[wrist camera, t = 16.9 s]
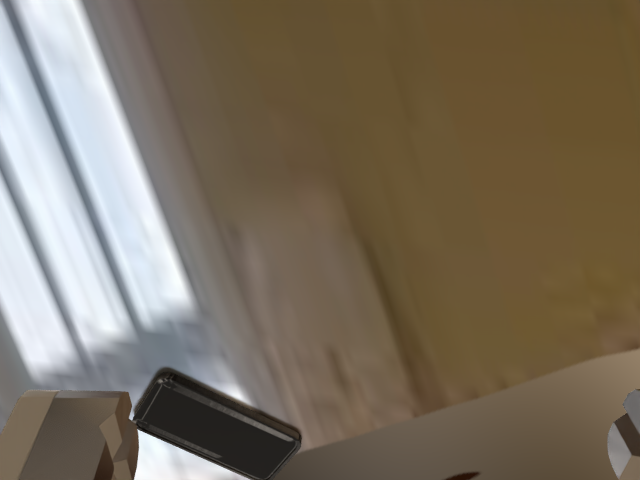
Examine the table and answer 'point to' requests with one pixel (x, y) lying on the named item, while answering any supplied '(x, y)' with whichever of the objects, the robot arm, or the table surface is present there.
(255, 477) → the phone
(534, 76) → the table surface
